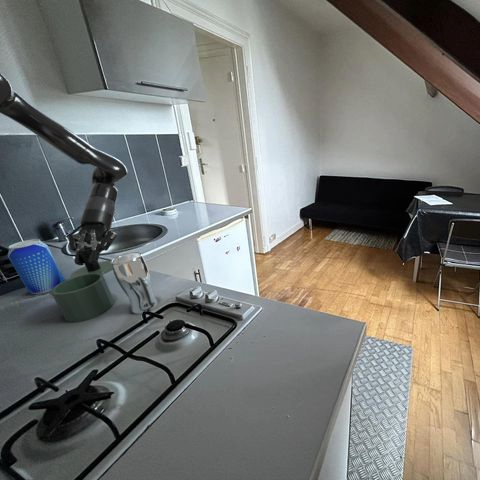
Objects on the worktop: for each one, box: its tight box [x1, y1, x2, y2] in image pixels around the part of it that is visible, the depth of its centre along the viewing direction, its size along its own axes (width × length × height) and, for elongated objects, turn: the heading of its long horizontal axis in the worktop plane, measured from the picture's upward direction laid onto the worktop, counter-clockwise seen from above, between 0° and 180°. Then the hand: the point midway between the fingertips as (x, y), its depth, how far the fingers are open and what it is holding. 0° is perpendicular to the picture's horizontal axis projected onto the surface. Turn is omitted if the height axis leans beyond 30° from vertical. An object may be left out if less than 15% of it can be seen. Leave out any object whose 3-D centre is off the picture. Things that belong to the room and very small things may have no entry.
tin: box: [50, 273, 115, 323], centre depth 70 cm, size 10×10×8 cm
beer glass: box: [110, 252, 159, 315], centre depth 68 cm, size 7×7×15 cm
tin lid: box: [70, 246, 113, 279], centre depth 80 cm, size 11×11×8 cm
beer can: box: [7, 238, 66, 297], centre depth 80 cm, size 8×8×16 cm
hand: (85, 263), depth 78 cm, fingers closed on tin lid, 3 cm apart
